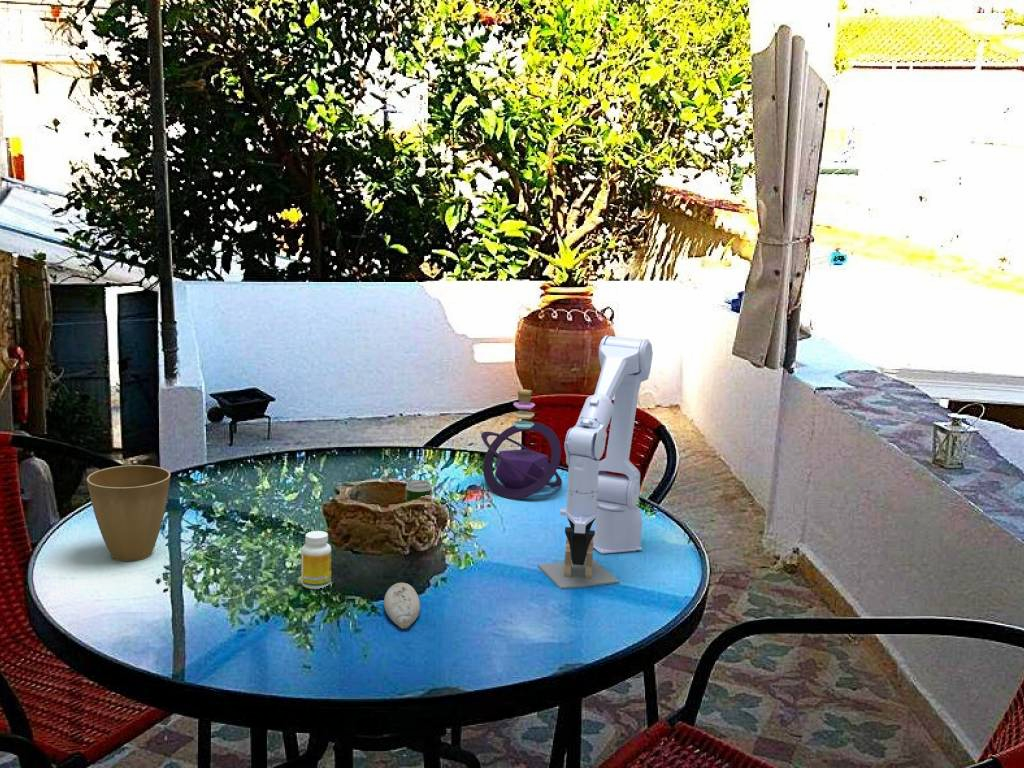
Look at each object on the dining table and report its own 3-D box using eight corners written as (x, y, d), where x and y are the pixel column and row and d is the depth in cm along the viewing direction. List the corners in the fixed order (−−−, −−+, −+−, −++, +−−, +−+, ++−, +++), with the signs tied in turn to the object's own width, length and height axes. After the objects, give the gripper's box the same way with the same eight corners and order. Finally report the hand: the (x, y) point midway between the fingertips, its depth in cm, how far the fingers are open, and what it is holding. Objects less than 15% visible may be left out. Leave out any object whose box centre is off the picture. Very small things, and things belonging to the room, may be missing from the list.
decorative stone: (387, 634, 163) (387, 614, 162) (380, 596, 178) (381, 578, 177) (424, 632, 164) (425, 612, 164) (415, 595, 179) (415, 577, 178)
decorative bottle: (459, 489, 245) (462, 389, 240) (507, 472, 262) (511, 379, 258) (534, 507, 233) (539, 403, 228) (580, 488, 250) (586, 391, 245)
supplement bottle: (298, 581, 183) (298, 531, 181) (326, 577, 185) (327, 528, 183) (305, 591, 178) (305, 540, 176) (334, 587, 180) (335, 537, 179)
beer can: (411, 544, 204) (413, 488, 202) (399, 536, 209) (401, 481, 207) (434, 540, 207) (436, 485, 205) (422, 532, 212) (423, 478, 210)
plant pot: (76, 553, 192) (72, 473, 189) (149, 537, 202) (147, 461, 200) (112, 575, 182) (109, 491, 179) (186, 556, 193) (185, 476, 190)
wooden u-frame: (565, 566, 194) (566, 536, 193) (591, 568, 194) (593, 538, 193) (564, 576, 189) (565, 545, 188) (591, 578, 189) (593, 547, 188)
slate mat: (593, 561, 199) (593, 559, 199) (619, 583, 188) (619, 581, 188) (537, 566, 195) (537, 564, 195) (560, 589, 184) (560, 587, 184)
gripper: (563, 477, 196) (559, 543, 198) (559, 498, 182) (556, 569, 184) (599, 479, 195) (595, 545, 198) (598, 501, 181) (594, 572, 184)
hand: (578, 557), depth 191 cm, fingers open, 7 cm apart
